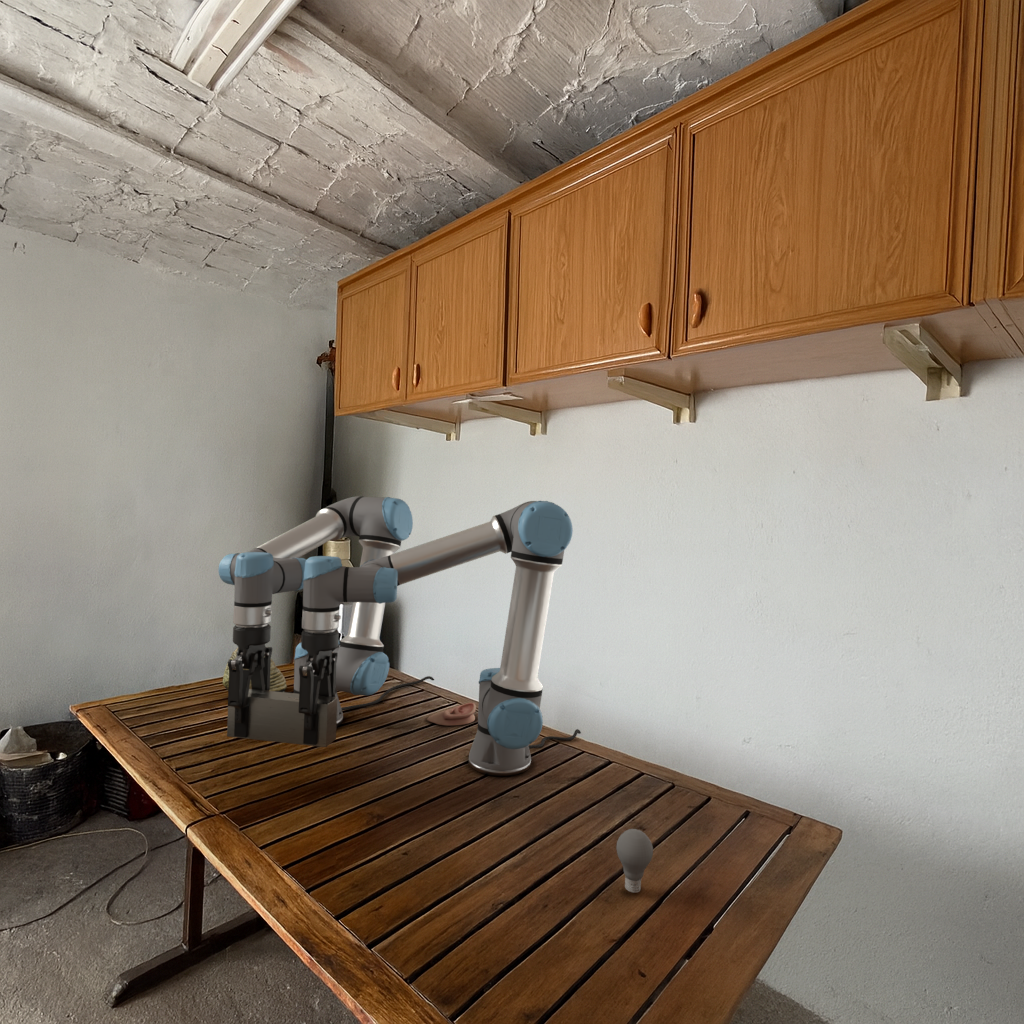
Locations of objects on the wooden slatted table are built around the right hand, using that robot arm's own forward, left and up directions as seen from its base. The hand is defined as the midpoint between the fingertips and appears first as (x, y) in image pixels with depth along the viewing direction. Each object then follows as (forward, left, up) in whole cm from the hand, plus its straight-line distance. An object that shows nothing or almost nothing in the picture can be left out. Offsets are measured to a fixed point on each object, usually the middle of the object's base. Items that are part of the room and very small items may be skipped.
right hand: (316, 738), depth 134 cm
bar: (+6, -5, -1) cm, 8 cm away
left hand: (+13, -9, 0) cm, 16 cm away
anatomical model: (-44, -32, -12) cm, 56 cm away
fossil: (+5, -74, -12) cm, 75 cm away
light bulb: (-42, +54, -12) cm, 70 cm away
